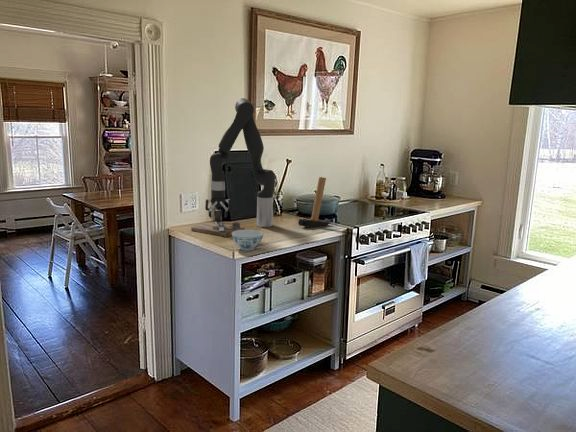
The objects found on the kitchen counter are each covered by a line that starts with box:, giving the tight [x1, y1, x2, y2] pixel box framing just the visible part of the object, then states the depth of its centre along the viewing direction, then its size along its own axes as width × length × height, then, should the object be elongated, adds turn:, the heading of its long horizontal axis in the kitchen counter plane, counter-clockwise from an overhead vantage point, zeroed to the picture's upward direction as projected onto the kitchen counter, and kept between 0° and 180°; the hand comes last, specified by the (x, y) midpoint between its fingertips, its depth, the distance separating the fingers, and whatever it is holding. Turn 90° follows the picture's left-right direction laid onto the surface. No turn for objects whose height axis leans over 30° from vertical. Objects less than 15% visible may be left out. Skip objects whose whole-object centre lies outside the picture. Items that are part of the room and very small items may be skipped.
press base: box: [190, 221, 246, 238], centre depth 252 cm, size 17×24×5 cm
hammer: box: [298, 176, 332, 229], centre depth 268 cm, size 20×5×30 cm, turn 122°
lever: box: [213, 209, 225, 231], centre depth 250 cm, size 19×4×8 cm, turn 15°
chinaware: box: [231, 229, 264, 252], centre depth 216 cm, size 15×15×8 cm
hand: (218, 217), depth 257 cm, fingers open, 8 cm apart
